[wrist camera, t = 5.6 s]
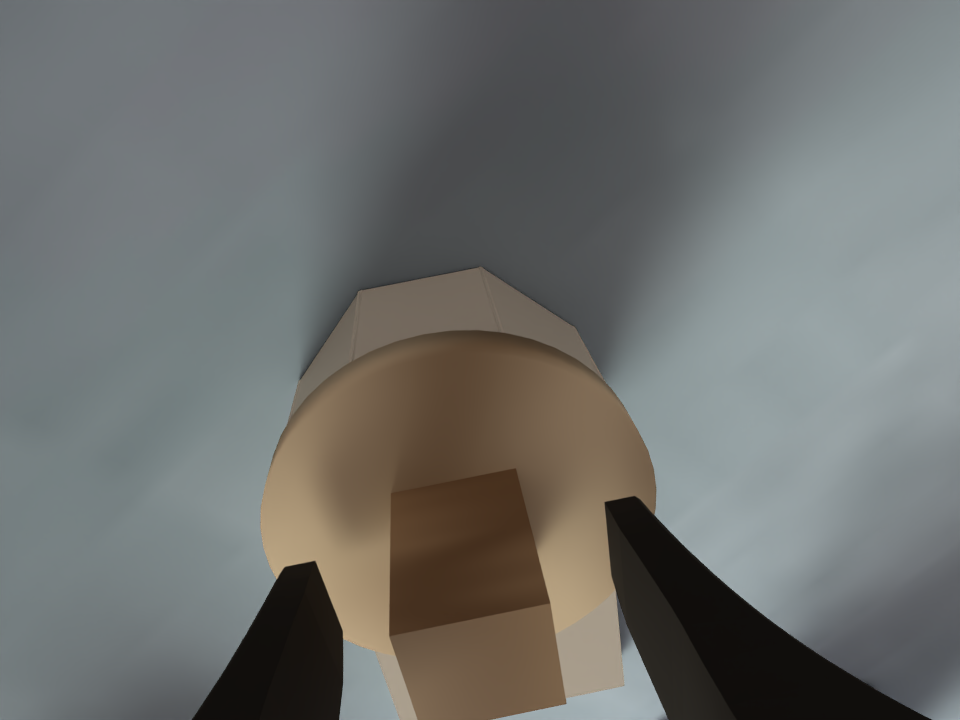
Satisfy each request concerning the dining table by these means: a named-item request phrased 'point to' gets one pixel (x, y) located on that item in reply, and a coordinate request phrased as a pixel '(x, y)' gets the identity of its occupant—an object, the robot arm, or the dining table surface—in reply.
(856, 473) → the dining table surface
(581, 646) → the cream block
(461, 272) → the bowl
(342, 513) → the lid
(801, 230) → the dining table surface
